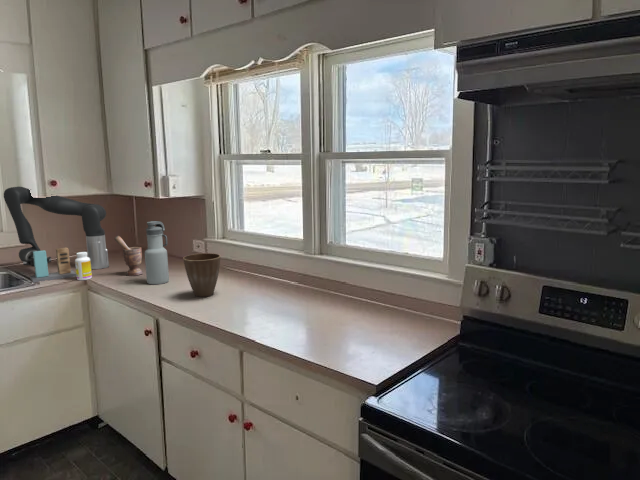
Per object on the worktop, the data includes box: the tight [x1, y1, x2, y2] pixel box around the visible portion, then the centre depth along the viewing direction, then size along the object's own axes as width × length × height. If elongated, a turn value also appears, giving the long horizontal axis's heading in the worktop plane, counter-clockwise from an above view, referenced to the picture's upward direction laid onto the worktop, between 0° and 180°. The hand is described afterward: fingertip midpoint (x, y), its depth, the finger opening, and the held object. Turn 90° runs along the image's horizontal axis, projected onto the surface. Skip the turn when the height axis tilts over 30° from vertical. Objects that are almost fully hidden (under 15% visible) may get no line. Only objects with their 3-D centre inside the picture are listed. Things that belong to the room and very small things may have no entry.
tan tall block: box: [55, 247, 72, 274], centre depth 251 cm, size 5×4×12 cm
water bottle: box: [144, 220, 170, 286], centre depth 233 cm, size 10×10×28 cm
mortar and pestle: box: [114, 235, 144, 277], centre depth 249 cm, size 12×9×20 cm
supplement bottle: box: [74, 251, 93, 281], centre depth 244 cm, size 7×7×13 cm
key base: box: [29, 269, 77, 283], centre depth 249 cm, size 19×10×2 cm, turn 126°
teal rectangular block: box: [33, 249, 49, 277], centre depth 245 cm, size 5×4×12 cm
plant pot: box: [182, 252, 221, 298], centre depth 210 cm, size 15×15×16 cm
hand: (40, 263), depth 246 cm, fingers closed
